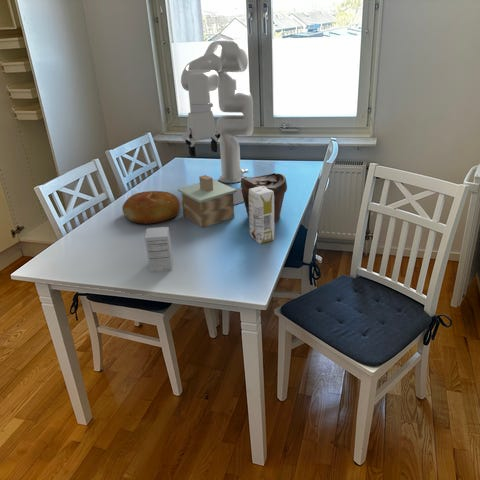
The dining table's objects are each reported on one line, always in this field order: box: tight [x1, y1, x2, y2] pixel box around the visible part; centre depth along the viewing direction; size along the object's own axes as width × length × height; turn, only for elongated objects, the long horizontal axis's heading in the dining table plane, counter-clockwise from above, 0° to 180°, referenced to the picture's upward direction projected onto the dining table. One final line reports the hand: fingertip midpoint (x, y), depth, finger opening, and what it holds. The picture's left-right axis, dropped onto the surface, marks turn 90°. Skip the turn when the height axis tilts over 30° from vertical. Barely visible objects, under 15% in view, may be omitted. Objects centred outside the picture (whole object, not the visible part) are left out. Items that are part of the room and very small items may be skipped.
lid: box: [177, 174, 236, 203], centre depth 176 cm, size 17×17×6 cm
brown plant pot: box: [239, 173, 288, 223], centre depth 175 cm, size 18×20×18 cm
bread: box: [121, 190, 181, 225], centre depth 184 cm, size 23×23×10 cm
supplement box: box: [144, 226, 174, 273], centre depth 144 cm, size 7×7×13 cm
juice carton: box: [248, 186, 275, 245], centre depth 158 cm, size 8×9×19 cm
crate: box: [181, 193, 235, 229], centre depth 180 cm, size 15×15×11 cm
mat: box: [233, 187, 245, 206], centre depth 201 cm, size 16×16×1 cm
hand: (203, 153), depth 170 cm, fingers open, 9 cm apart
